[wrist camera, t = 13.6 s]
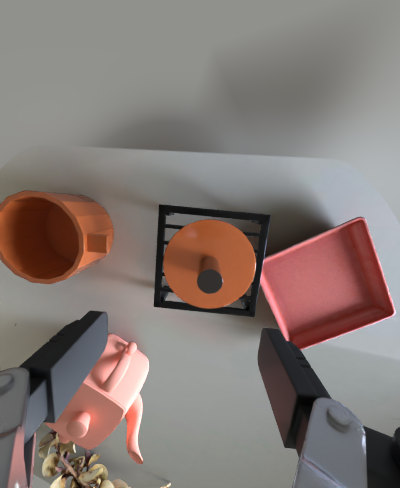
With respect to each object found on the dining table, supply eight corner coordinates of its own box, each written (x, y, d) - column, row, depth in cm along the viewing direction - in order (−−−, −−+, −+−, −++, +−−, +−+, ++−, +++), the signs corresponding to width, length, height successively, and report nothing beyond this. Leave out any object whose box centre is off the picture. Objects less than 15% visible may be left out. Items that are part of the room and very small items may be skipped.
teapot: (161, 390, 40) (141, 472, 28) (82, 392, 41) (27, 473, 28) (153, 323, 37) (127, 382, 25) (68, 327, 38) (2, 386, 25)
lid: (167, 214, 28) (154, 217, 21) (260, 223, 28) (278, 229, 21) (162, 300, 31) (149, 328, 24) (247, 309, 31) (259, 339, 24)
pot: (25, 189, 33) (-35, 184, 25) (130, 199, 33) (104, 197, 25) (31, 260, 35) (-23, 277, 27) (128, 270, 35) (104, 290, 27)
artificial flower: (156, 485, 49) (40, 444, 45) (184, 456, 45) (59, 408, 41) (146, 555, 40) (-2, 512, 36) (179, 526, 36) (18, 473, 32)
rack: (166, 204, 33) (158, 204, 28) (261, 213, 33) (271, 215, 28) (160, 293, 36) (153, 306, 31) (247, 302, 36) (254, 317, 31)
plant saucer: (284, 342, 37) (291, 355, 34) (246, 258, 34) (250, 264, 31) (380, 305, 35) (397, 315, 32) (348, 213, 32) (364, 214, 29)
